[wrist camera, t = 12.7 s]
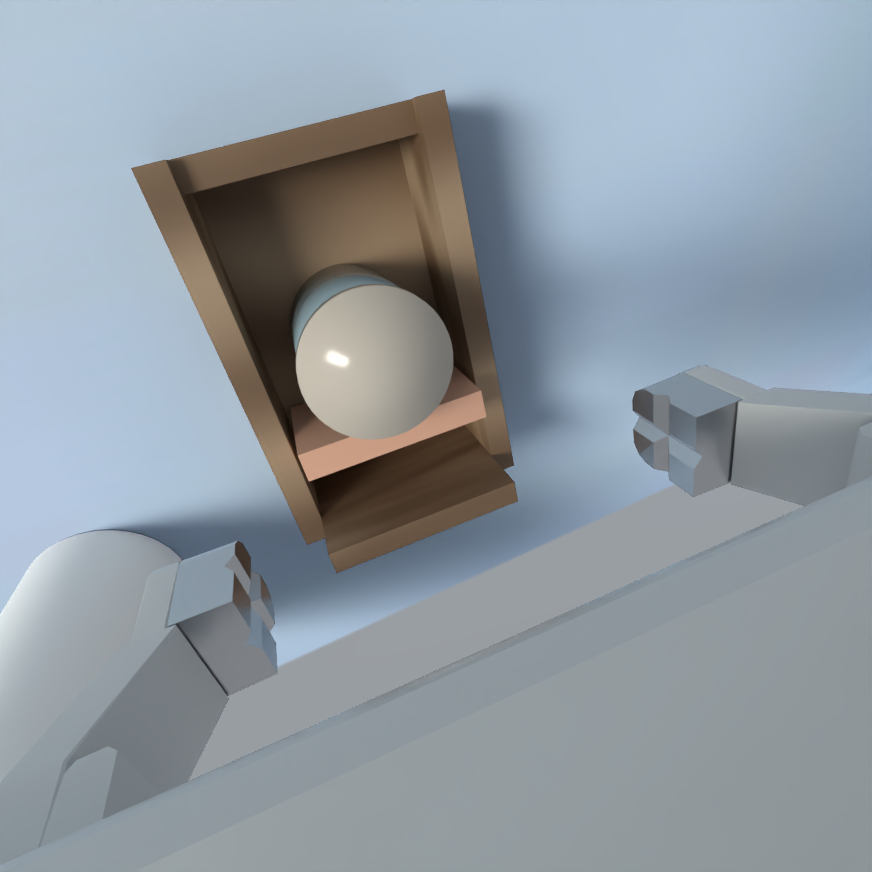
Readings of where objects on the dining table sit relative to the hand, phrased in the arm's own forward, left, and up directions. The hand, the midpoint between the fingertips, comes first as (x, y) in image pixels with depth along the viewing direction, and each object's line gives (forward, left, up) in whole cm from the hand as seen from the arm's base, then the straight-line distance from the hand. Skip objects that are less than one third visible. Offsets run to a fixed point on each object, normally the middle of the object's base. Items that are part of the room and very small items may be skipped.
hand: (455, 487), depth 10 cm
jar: (0, 0, -14) cm, 14 cm away
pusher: (+3, 0, -14) cm, 15 cm away
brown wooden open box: (0, 0, -15) cm, 15 cm away
